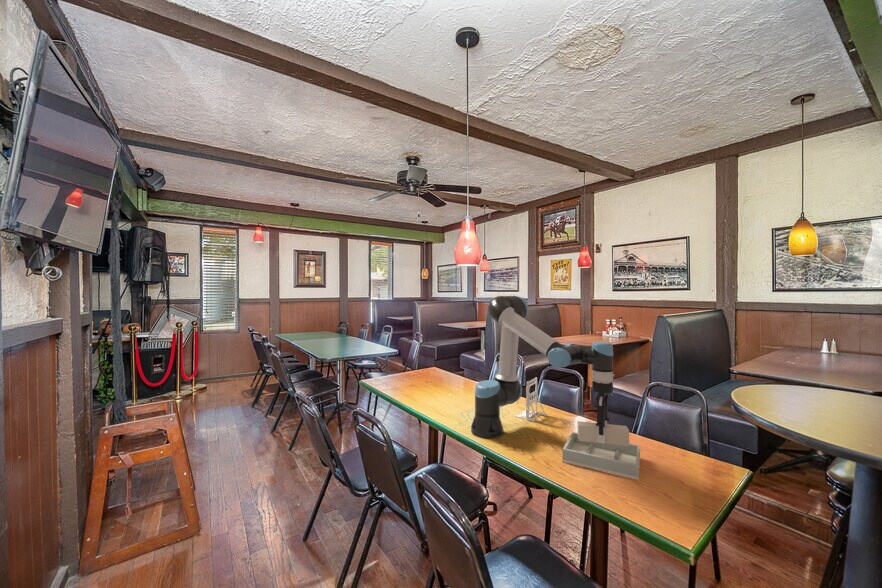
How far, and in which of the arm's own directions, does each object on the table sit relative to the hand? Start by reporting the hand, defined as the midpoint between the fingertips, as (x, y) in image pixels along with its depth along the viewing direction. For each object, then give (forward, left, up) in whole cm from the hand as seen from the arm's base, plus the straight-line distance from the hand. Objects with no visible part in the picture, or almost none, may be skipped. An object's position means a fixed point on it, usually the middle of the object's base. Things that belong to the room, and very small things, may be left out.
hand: (602, 439), depth 140 cm
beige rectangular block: (0, 0, 0) cm, 0 cm away
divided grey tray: (0, 0, -8) cm, 8 cm away
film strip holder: (-39, +35, -8) cm, 53 cm away
